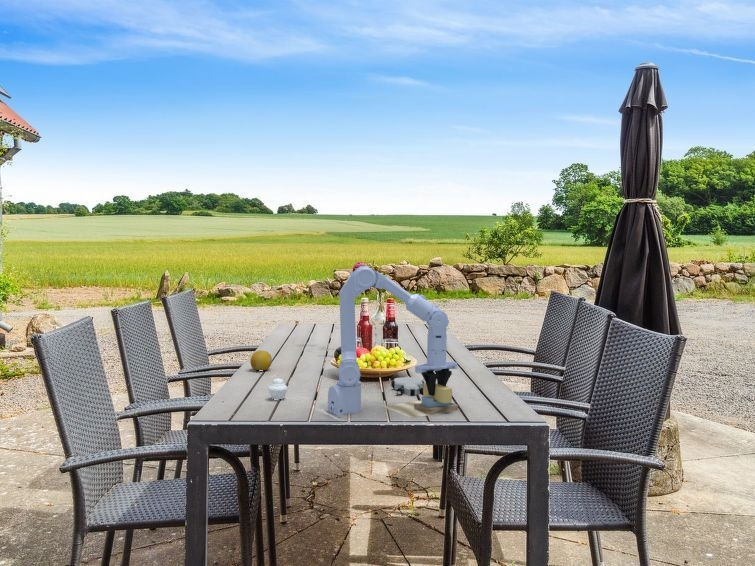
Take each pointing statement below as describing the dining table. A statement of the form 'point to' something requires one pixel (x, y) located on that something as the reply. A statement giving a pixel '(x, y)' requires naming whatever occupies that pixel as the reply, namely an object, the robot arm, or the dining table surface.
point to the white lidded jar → (277, 389)
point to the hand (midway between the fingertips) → (436, 394)
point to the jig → (419, 409)
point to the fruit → (261, 360)
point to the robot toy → (408, 385)
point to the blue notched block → (432, 402)
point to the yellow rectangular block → (439, 393)
